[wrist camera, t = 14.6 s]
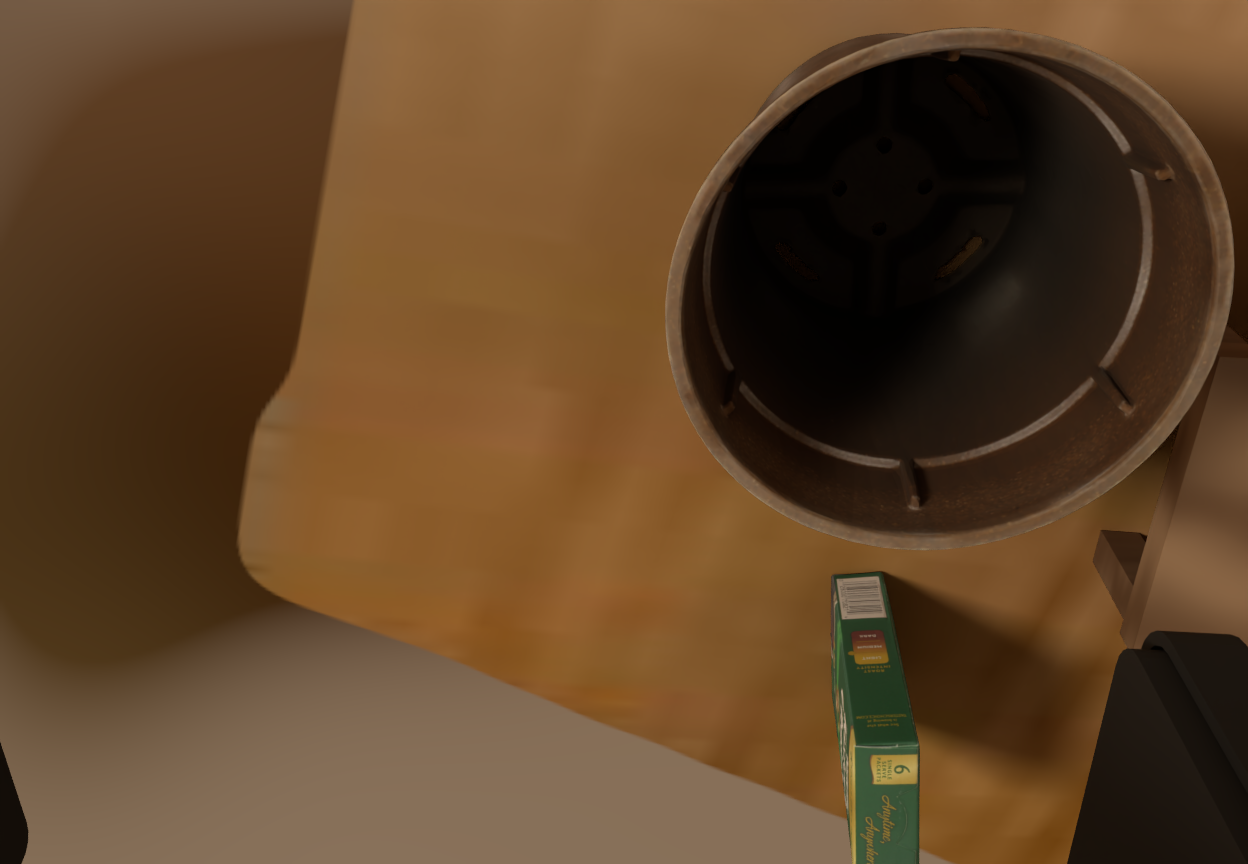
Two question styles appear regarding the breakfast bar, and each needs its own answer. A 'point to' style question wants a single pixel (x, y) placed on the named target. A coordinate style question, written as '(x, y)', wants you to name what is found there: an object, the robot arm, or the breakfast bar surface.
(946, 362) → the plant pot
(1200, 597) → the small square stand
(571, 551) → the breakfast bar surface
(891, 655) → the coffee box
